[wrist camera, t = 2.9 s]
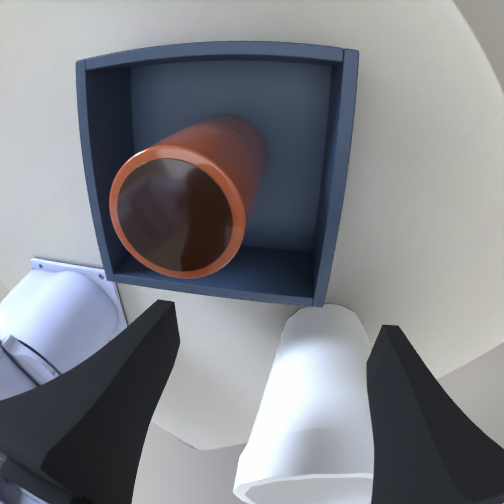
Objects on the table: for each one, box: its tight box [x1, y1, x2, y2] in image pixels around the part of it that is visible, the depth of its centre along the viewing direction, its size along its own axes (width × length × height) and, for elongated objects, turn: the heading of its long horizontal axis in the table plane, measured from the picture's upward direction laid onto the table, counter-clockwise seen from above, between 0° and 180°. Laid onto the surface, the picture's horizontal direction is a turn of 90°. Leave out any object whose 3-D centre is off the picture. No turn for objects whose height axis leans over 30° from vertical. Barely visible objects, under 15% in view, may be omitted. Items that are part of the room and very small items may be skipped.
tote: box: [76, 41, 359, 308], centre depth 16 cm, size 12×12×5 cm
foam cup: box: [233, 304, 374, 504], centre depth 18 cm, size 10×9×13 cm
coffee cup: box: [109, 114, 268, 279], centre depth 14 cm, size 5×5×8 cm
